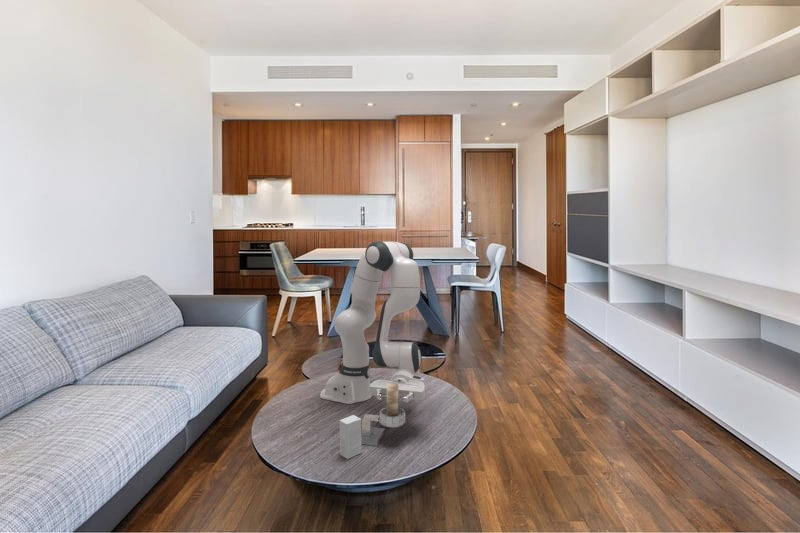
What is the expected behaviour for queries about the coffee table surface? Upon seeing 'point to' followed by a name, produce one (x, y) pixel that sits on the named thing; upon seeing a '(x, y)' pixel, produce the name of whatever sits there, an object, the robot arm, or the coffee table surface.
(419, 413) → the coffee table surface
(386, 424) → the cup bracket
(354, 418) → the skincare box
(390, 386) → the rail post
